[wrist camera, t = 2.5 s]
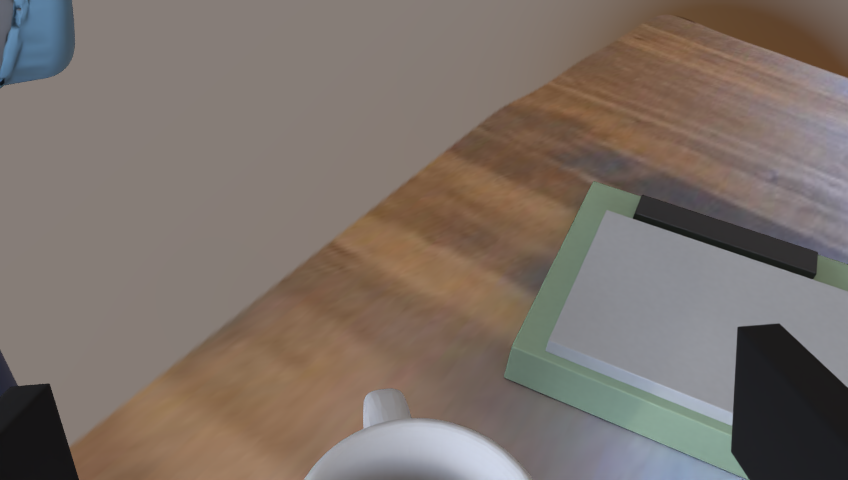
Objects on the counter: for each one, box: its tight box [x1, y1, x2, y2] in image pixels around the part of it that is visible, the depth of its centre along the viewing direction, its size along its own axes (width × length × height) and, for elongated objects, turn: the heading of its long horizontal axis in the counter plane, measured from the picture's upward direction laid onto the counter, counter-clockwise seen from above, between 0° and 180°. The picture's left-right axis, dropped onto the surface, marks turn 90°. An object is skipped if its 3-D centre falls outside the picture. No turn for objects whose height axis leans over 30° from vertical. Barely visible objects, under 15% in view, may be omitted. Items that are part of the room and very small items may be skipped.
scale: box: [504, 181, 848, 480], centre depth 37 cm, size 16×15×3 cm
